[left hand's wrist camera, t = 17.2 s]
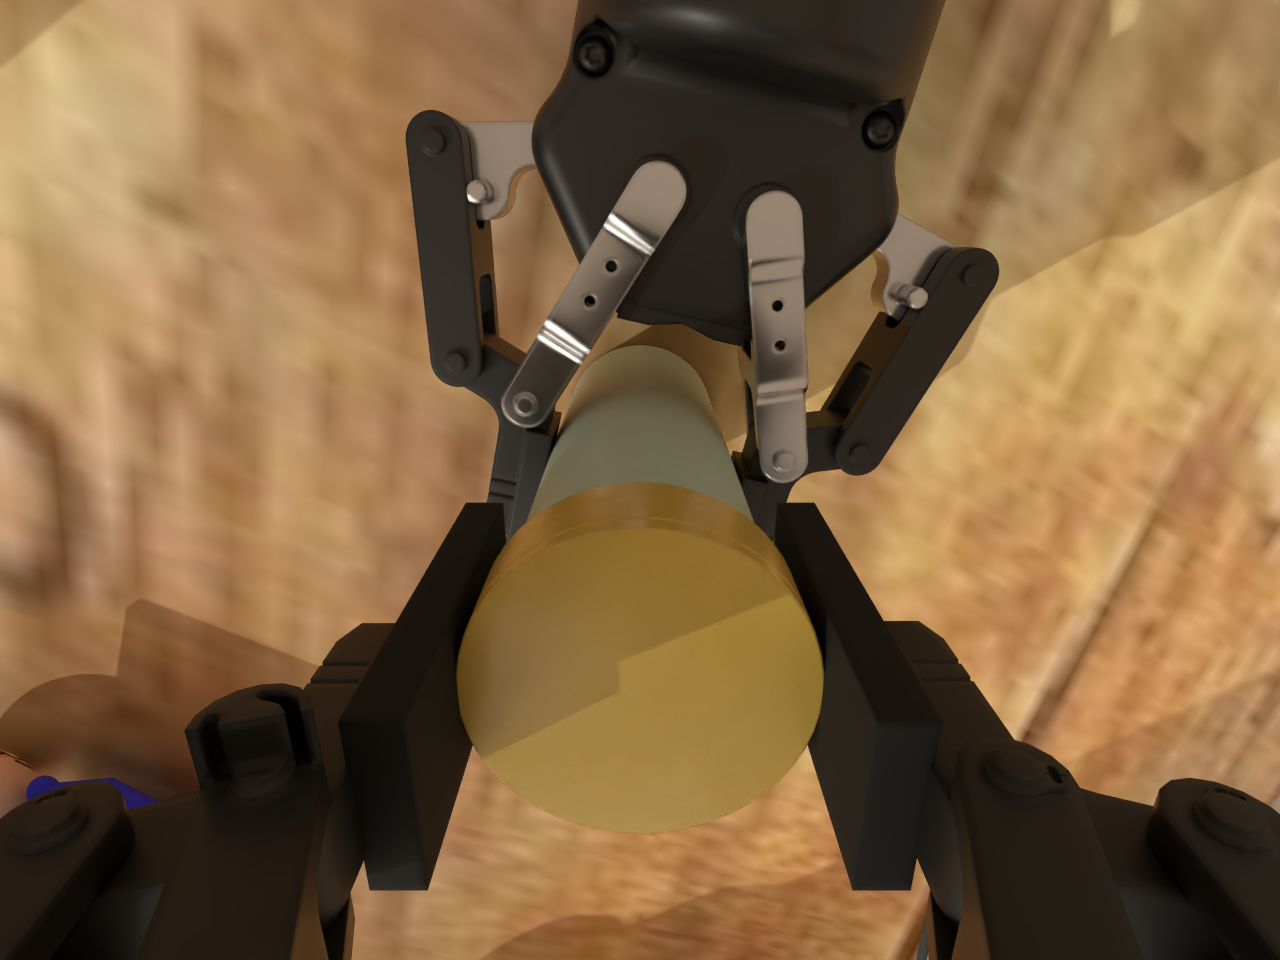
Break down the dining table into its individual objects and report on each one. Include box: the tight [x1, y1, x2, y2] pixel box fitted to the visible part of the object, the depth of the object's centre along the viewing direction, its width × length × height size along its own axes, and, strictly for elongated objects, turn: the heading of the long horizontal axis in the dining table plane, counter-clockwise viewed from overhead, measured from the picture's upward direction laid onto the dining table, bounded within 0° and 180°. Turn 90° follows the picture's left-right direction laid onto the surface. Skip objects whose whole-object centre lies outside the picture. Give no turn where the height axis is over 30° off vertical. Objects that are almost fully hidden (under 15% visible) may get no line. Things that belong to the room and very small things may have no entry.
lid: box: [456, 482, 824, 833], centre depth 12 cm, size 6×6×2 cm
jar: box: [526, 345, 754, 523], centre depth 18 cm, size 5×5×15 cm
